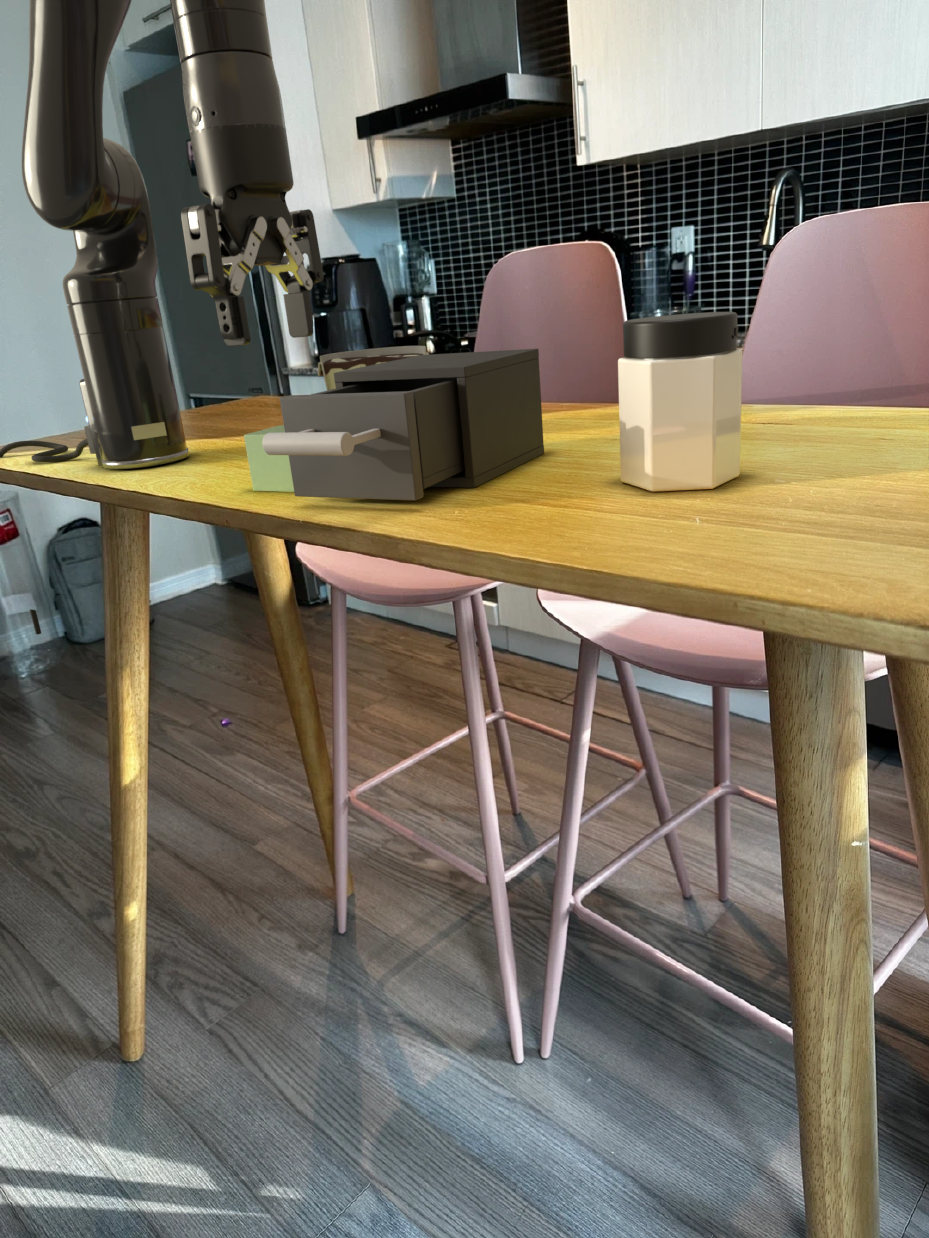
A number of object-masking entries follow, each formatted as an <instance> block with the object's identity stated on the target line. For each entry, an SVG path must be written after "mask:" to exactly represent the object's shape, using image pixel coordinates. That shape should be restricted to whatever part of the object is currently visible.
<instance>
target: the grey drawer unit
mask: <svg viewBox="0 0 929 1238" xmlns="http://www.w3.org/2000/svg"><path fill="white" fill-rule="evenodd" d="M433 378H457V384H458V395H459V407H460V418H461V430H462V441H463V453H464V464H465V471H462V472H460V473H458V474H456V475H453V476H451V477H449V478H447V479H445V480H442V481H440V482H438V483H436V484H434V485H431V486H429V487H428V488H464V489H465V488H467V489H470V488H471V489H475V488H478V487H479V486H481V485H483V484H485V483H487V482H489V481H491V480H493V479H495V478H497V477H500V476H501V475H504V474H506V473H508V472H509V471H511V470H514V469H515V468H518V467H519V466H521V465H523V464H525V463H527V462H529V461H531V460H534V459H536V458H538V457H539V456H542V455H544V454H545V445H544V443H545V442H544V428H543V427H544V426H543V425H544V424H543V408H542V393H541V373H540V351H539V348H524V349H523V348H522V349H506V350H505V349H503V350H491V351H490V350H487V351H470V352H453V353H452V352H451V353H435V354H429V355H419V356H414V357H409V358H404V359H399V360H394V361H390V362H385V363H380V364H375V365H370V366H365V367H360V368H355V369H350V370H346V371H341V372H336V373H334V379H335V382H336V383H335V387H336V388H341V387H345V386H349V385H354V384H358V383H362V382H367V381H385V380H409V379H433Z"/></svg>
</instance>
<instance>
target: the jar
mask: <svg viewBox="0 0 929 1238" xmlns="http://www.w3.org/2000/svg"><path fill="white" fill-rule="evenodd" d="M622 335H623V336H622V338H623V357H620V358H618V360H617V378H618V379H617V382H618V384H617V385H618V420H619V422H618V424H619V425H618V426H619V464H620V467H619V468H620V481H621V482H622V483H624V484H627V485H631V486H634V487H637V488H640V489H643V490H647V491H649V492H674V491H695V490H713V489H715V488H717V487H719V486H721V485H723V484H725V483H727V482H729V481H732V480H733V479H736V478H738V477H739V476H740V474H741V472H740V471H741V436H742V435H741V434H742V393H743V350H742V349H741V348H737V347H738V338H739V325H738V313H737V312H735V311H710V312H709V311H708V312H692V313H680V314H669V315H668V314H667V315H657V316H648V317H639V318H633V319H628V320H625V321H624V322H623V323H622Z"/></svg>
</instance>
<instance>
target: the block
mask: <svg viewBox="0 0 929 1238" xmlns="http://www.w3.org/2000/svg"><path fill="white" fill-rule="evenodd" d="M267 433H285V430H284V424H281V425H277V426H272V427H268V428H264V429H261V430H256V431H254V432H249V433H246V434H244V435H243V439H244V444H245V445H244V446H245V450H246V455H247V456H246V457H247V462H248V468H249V474H250V480H251V485H252V490H253V491H254V492H279V493H280V492H282V493H283V492H285V493H294V487H293V481H292V475H291V468H290V462H289V455H268V454H267V453H266V452H265V451H264V449H263V438H264V436H265V435H266V434H267Z"/></svg>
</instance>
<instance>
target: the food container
mask: <svg viewBox="0 0 929 1238" xmlns="http://www.w3.org/2000/svg"><path fill="white" fill-rule="evenodd" d="M419 355H430V353H429V352H428V351H427V348H426V346H425V345H404V346H403V345H402V346H388V347H387V346H386V347H377V348H367V349H356V350H349V351H339V352H334V353H327V354H323V355H319V362H317V377H322V376H323V379H324V383H325V387H326V391H328V390H332V389H336V387H335V383H336V382H335V379H334V373H336V372H341V371H346V370H350V369H355V368H360V367H365V366H370V365H375V364H380V363H385V362H390V361H394V360H399V359H404V358H409V357H414V356H419Z"/></svg>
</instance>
